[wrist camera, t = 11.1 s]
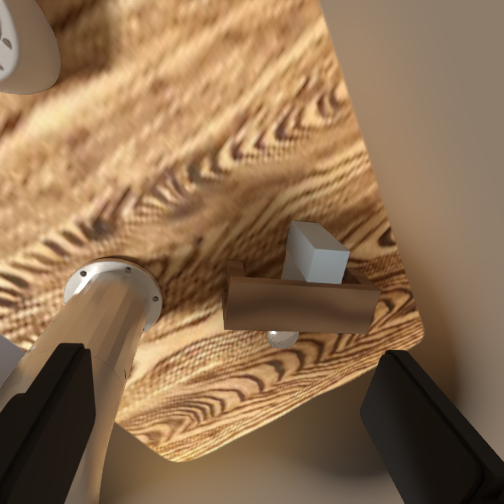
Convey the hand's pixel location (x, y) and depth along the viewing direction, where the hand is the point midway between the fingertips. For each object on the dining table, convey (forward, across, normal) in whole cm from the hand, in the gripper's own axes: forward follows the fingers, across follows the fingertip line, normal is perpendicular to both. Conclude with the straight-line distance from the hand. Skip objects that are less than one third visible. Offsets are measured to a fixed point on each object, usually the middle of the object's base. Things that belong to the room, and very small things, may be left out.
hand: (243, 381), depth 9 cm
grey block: (+30, -12, +11) cm, 35 cm away
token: (+31, -12, +22) cm, 39 cm away
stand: (+30, -12, +13) cm, 35 cm away
